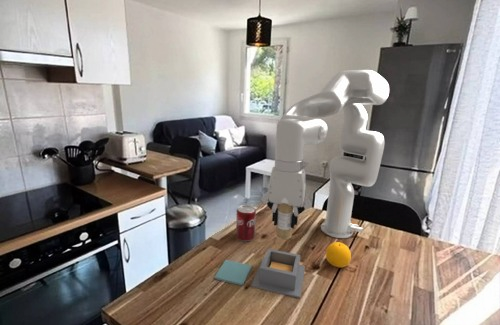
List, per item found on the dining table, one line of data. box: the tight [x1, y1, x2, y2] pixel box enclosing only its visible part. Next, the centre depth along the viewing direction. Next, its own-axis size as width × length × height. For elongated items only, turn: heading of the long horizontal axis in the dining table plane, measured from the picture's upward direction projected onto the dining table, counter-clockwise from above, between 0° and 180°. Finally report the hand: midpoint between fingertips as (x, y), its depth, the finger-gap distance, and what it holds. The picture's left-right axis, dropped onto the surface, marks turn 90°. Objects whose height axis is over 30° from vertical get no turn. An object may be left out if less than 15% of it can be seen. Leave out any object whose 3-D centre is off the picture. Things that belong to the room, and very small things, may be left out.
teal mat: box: [214, 259, 253, 286], centre depth 83 cm, size 9×9×1 cm
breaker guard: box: [251, 248, 306, 299], centre depth 81 cm, size 14×14×6 cm
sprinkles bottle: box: [275, 198, 294, 240], centre depth 77 cm, size 5×5×14 cm
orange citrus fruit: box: [325, 241, 352, 268], centre depth 88 cm, size 8×8×8 cm
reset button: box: [270, 262, 293, 272], centre depth 81 cm, size 7×7×2 cm
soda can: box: [235, 204, 257, 243], centre depth 102 cm, size 7×7×12 cm
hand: (284, 224), depth 78 cm, fingers closed on sprinkles bottle, 4 cm apart
